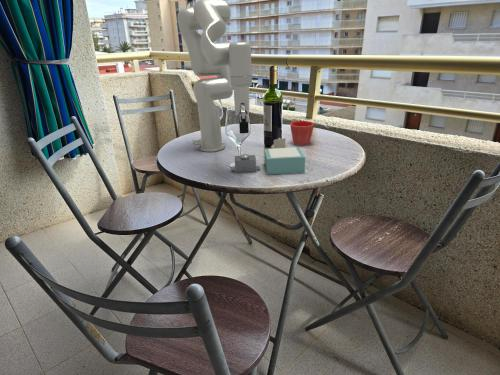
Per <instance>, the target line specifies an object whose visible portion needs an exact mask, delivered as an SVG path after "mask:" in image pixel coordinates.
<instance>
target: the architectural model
mask: <svg viewBox="0 0 500 375" xmlns="http://www.w3.org/2000/svg"><path fill="white" fill-rule="evenodd" d="M275 148H289V147H288V145H287V144H286V138H280V137H278V139H277V138H276V139H274V140H273V144H272V145H271V146H270V149H275Z"/></svg>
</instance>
